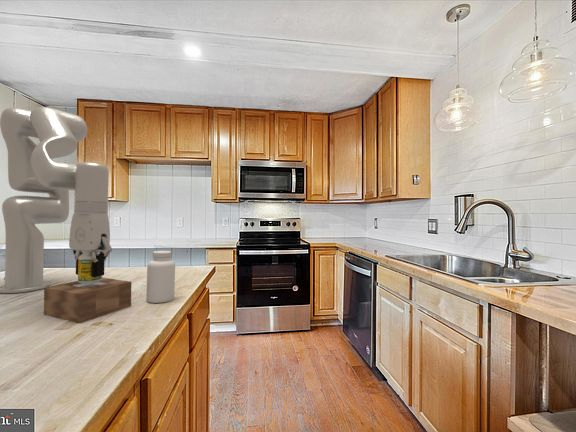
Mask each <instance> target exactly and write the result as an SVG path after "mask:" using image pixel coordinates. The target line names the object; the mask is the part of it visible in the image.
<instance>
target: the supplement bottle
mask: <svg viewBox="0 0 576 432" xmlns="http://www.w3.org/2000/svg"><path fill="white" fill-rule="evenodd" d="M96 250H99V248H98V249H96ZM81 252H82V253H83V254H81V255H80V256H79V257H78V275H77V281H78V282H79V283H81V284H90V283H96V282H99V281H101V280H102V277H103V275H102V276H98V277H91V263H92V262H94V261H93V256H92V251H91V252H88V251H81ZM99 253H100V252H98V253H97V256H98V255H99Z"/></svg>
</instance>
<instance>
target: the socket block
mask: <svg viewBox="0 0 576 432" xmlns="http://www.w3.org/2000/svg"><path fill="white" fill-rule="evenodd" d="M99 282H103V283H108V284H104V285H100V286H95V287H91V288H87V289H85V288H79V287H73V285H78V284H81V283H79V282H78V280H76V281H70V282H65V283H61V284H56V285H51V286H50V285H49V286H48V287H45V288H43V315H44V316H49V317H52V318H57V319H60V320H65V321H68V322H73V323H77V324H82V323H85V322H88V321H91V320H93V319H96V318H99V317H102V316H105V315H106V316H107V315H108V314H111V313H115V312H117V311H120V310H123V309H125V308H129V307H131V306H132V281H128V280H123V279H122V280H121V279H116V278H108V277H103V276H102V280H101V281H99Z"/></svg>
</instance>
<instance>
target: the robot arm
mask: <svg viewBox="0 0 576 432" xmlns="http://www.w3.org/2000/svg"><path fill="white" fill-rule="evenodd" d="M88 132H89V131H88V126H87V123H86V121H85V119H83V118H82V117H81V116H80V115H77V114H74V113H70V112H67V111H64V110H59V109H56V108H53V107H48V106H37V107H35V108H33V109H32V110H30V109H27V108H26V109H24V108H19V107H7V108H5V109H3V111H1V115H0V133H1V135H2V139H3V140H4V142H5V145H6V150H7V179H8V180H7V181H8V184H9V186H10V188H11V189H12V190H14V191H18V192H24V193H35V194H36V193H37V194H48V196H39V195H37V196H35V195H14V196H9V197H7V198H6V199H5V200H4V201H3V202H2V205H1V210H2V211H1V212H2V217H3V221H4V222H3V223H4V228H5V231H4V232H5V247H4V248H5V255H4V256H5V257H4V259H5V260H4V261H5V262H4V265H5V266H4V277H3V281H4V285H1V286H0V293H1V294H19V293H28V292H32V291H37V290H41V289H42V290H44V288H45V287H50V282H49V281H46V280H44V260H45V259H44V255H45V253H44V251H45V238H44V237H45V236H44V234H43V233H42V231H41V230H40V229H39V228H38V227H37V225H39V224H45V225H46V224H48V225H49V224H62V223H65V222H66V221H67V220H68V218H69V217H70V216H69V214H70V191H74V200H73V201H74V203H73V204H74V205H73V208H74V209H73V211H74V212H73V214H72V217H71V222H70V228H69V237H68V238H69V241H68V242H69V244H68V246H69V248H70V249H71V251H72V253H73V254H74V260H75V275H76V276H78V257H79V256H80V255H81V254H83V253H82V252H81V251H88V252H91V251H92V256H93V261H94V262H92V263H91V277H98V276H102V277H103V276H104V275H105V263H106V261H107V257H108V256H109V254H111V252H112V251H113V248H112V246H111V244H110V242H111V233H110V232H111V231H110V228H111V227H110V221H109V220H110V219H109V181H110V180H109V179H110V178H109V177H110V176H109V172H110V171H109V168H108V167H107V166H106V165H104V164H103V163H102V164H101V163H98V162H97V163H96V162H84V161H83V162H79V163H70V162H66V161H59V160H54V159H59V158H63V157H67V156H70V155H72V154H73V153H74V152H76V150H77V149H78V142H79V143H80V142H81V141H83V140H85V139H86V137H87V136H88ZM31 137H32V138H36V139H38V140H39V143H37V144H36V142H34V140H33V139H31ZM98 248H99V250H96V249H98ZM97 253H99V255H98V256H97Z"/></svg>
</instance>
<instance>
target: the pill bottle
mask: <svg viewBox="0 0 576 432" xmlns="http://www.w3.org/2000/svg"><path fill="white" fill-rule="evenodd" d="M171 258H172V251H171V250H154V251H153V252H152V258H151V259H152V260H150V261H148V263H147V268H146V296H145V297H146V301H147V302H148V303H153V304H160V303H168V302H171V301H173V300H174V299H175V287H176V285H175V284H176V283H175V281H176V263H175V261H174V259H173V260H172V259H171Z"/></svg>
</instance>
